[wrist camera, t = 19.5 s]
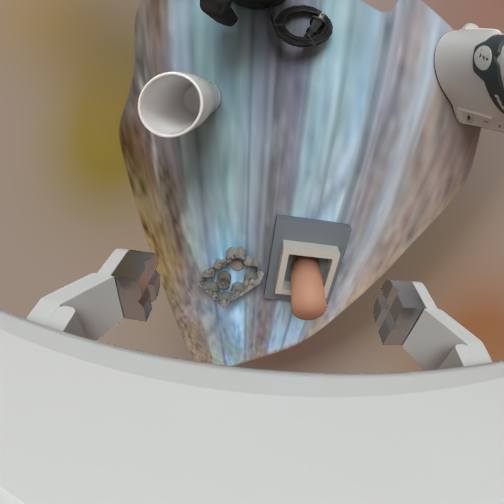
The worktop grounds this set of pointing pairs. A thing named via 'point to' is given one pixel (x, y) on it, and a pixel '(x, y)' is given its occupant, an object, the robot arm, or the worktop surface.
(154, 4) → the worktop surface
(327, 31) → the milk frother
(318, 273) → the pillar
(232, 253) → the grey rock frame
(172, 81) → the drinking glass
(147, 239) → the worktop surface
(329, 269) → the base board
